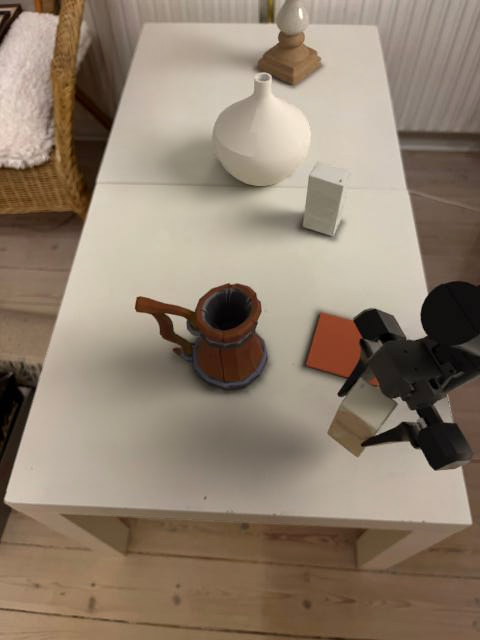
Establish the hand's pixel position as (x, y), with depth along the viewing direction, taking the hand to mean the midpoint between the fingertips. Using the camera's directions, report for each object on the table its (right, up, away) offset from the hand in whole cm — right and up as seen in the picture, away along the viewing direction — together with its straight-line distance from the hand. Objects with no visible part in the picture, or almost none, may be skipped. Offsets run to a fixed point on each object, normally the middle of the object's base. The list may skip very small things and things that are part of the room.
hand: (350, 419), depth 58 cm
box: (+2, -3, +6) cm, 7 cm away
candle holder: (-1, +72, +59) cm, 93 cm away
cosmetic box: (+2, +29, +32) cm, 43 cm away
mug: (-18, +6, +18) cm, 26 cm away
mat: (+4, +7, +18) cm, 20 cm away
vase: (-9, +42, +40) cm, 59 cm away
